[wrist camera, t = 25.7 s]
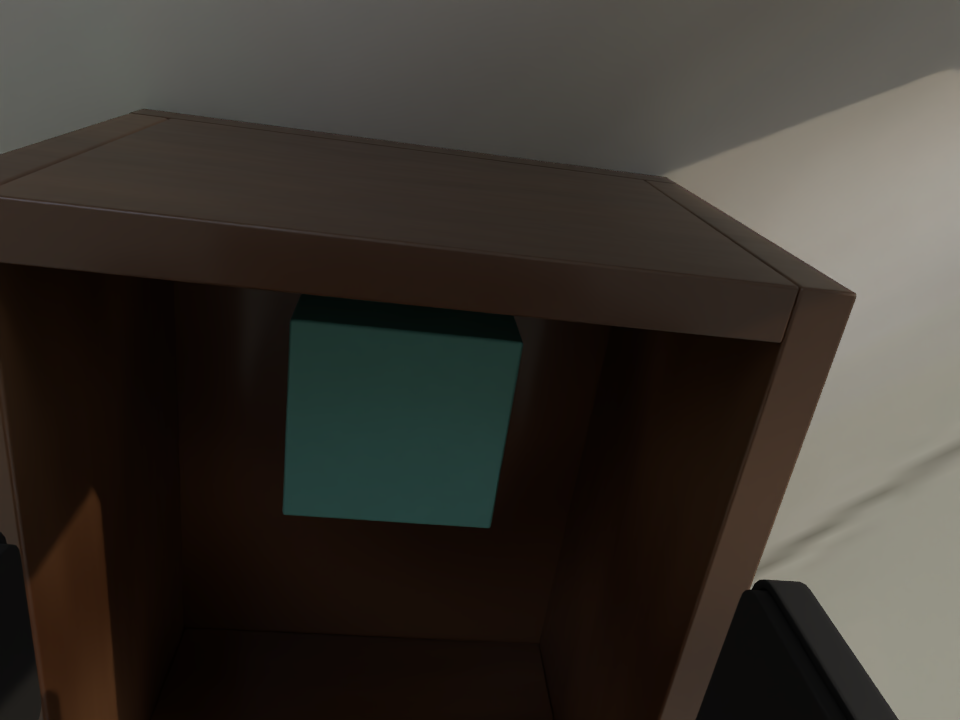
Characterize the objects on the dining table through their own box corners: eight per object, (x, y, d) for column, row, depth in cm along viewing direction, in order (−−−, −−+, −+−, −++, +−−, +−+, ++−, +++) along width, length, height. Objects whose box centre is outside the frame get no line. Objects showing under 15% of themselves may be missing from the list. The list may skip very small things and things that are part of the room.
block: (309, 413, 20) (281, 516, 16) (318, 252, 18) (289, 319, 14) (475, 427, 20) (490, 529, 16) (499, 272, 19) (524, 342, 14)
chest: (141, 108, 17) (-104, 184, 9) (668, 177, 19) (859, 293, 11) (163, 626, 23) (32, 943, 15) (556, 644, 25) (623, 938, 17)
